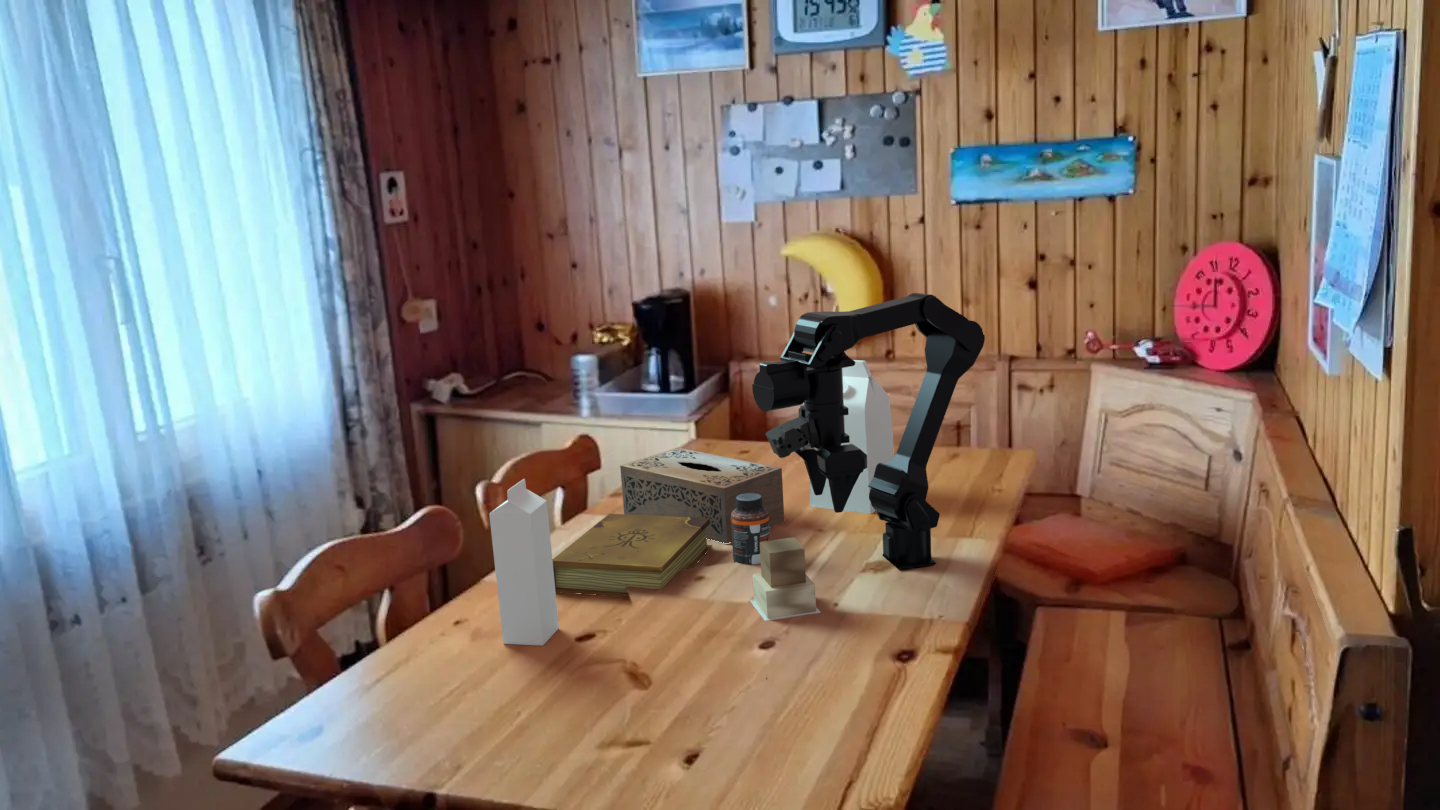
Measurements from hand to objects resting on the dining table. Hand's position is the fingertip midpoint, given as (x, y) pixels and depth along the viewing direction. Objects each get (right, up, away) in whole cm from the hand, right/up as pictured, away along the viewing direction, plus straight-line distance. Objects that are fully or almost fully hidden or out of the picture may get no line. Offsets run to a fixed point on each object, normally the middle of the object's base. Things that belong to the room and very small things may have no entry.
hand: (828, 503), depth 178 cm
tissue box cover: (-19, -6, +37) cm, 42 cm away
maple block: (-7, -14, -8) cm, 17 cm away
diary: (-30, -12, +14) cm, 35 cm away
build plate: (-7, -15, -8) cm, 18 cm away
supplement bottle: (-11, -11, +12) cm, 20 cm away
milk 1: (-42, -18, -10) cm, 47 cm away
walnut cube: (-7, -10, -9) cm, 15 cm away
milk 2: (+8, -3, +42) cm, 43 cm away
